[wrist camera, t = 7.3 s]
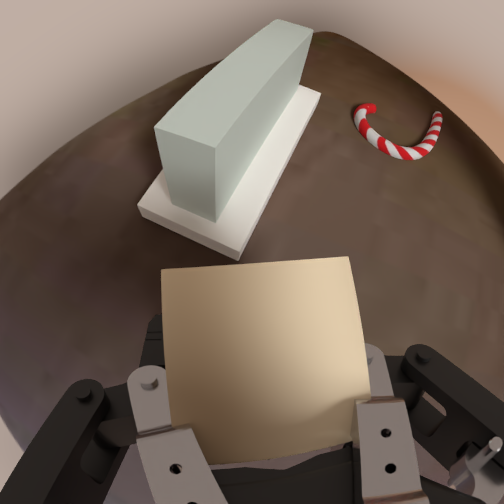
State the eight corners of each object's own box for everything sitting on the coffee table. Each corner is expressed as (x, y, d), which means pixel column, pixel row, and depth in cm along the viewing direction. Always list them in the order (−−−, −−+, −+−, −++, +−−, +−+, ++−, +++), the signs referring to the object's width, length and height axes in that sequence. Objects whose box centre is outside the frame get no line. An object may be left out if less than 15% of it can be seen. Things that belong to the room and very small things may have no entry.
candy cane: (460, 131, 26) (402, 167, 21) (455, 137, 27) (395, 176, 23) (415, 88, 28) (341, 107, 23) (411, 95, 29) (337, 117, 25)
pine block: (277, 319, 16) (348, 256, 7) (286, 397, 15) (374, 433, 5) (197, 326, 16) (161, 269, 6) (204, 405, 14) (178, 465, 5)
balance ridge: (316, 105, 24) (341, 35, 17) (238, 261, 18) (251, 185, 10) (248, 80, 25) (257, 10, 17) (142, 216, 18) (106, 131, 11)
